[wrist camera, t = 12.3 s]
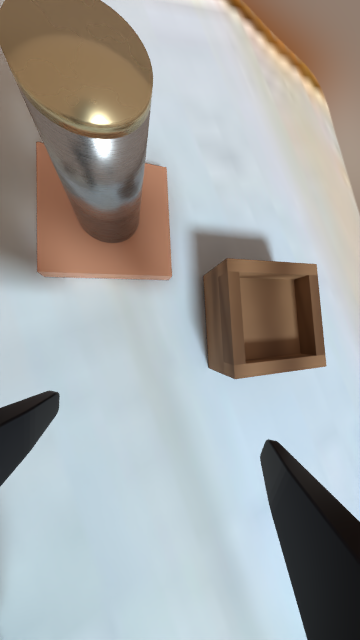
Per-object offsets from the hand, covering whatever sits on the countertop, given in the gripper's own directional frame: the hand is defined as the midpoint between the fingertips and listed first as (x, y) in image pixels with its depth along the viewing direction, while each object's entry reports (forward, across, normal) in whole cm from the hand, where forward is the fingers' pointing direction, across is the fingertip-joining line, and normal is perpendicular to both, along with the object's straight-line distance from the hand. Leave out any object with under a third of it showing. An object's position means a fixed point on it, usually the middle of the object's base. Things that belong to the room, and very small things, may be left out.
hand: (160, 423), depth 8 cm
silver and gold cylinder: (+10, +8, -10) cm, 16 cm away
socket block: (+13, -6, -3) cm, 14 cm away
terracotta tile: (+11, +8, -9) cm, 16 cm away
